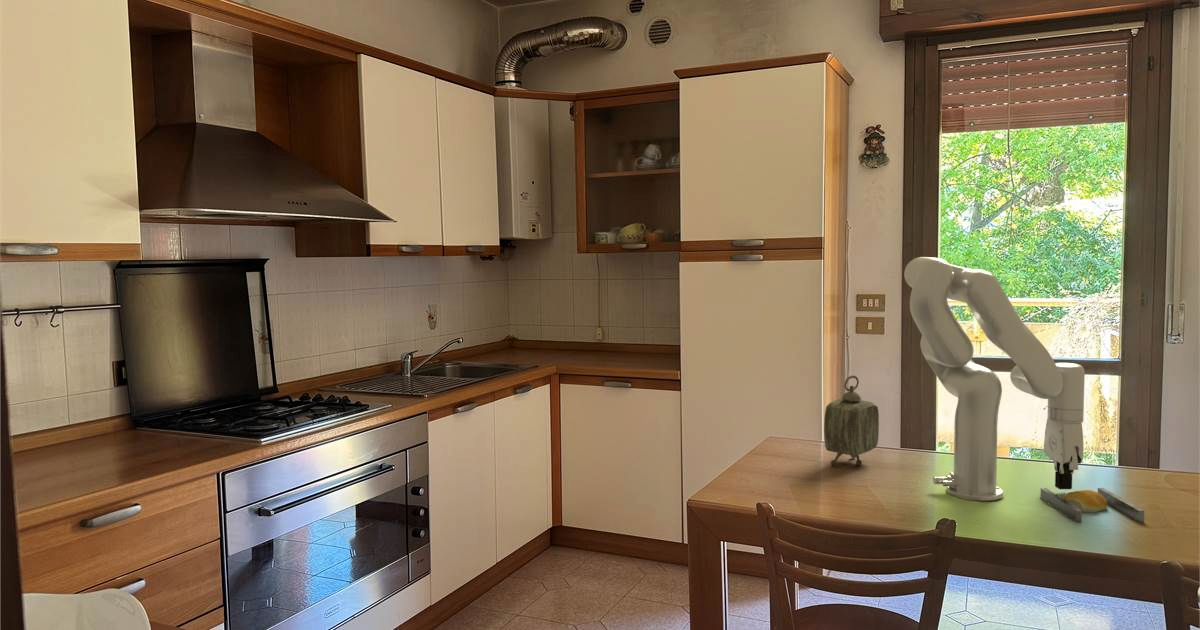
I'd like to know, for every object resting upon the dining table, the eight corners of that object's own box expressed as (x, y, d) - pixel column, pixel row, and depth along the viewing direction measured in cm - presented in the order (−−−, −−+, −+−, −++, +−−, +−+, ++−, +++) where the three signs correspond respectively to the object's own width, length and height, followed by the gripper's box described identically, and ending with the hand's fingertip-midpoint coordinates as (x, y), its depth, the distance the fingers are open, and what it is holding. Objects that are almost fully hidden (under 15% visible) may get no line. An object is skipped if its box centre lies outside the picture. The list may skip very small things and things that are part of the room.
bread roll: (1113, 508, 184) (1114, 492, 184) (1090, 515, 180) (1090, 498, 180) (1078, 498, 191) (1078, 482, 191) (1054, 505, 187) (1055, 488, 187)
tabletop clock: (851, 456, 232) (851, 370, 230) (880, 461, 225) (881, 374, 223) (824, 466, 222) (824, 377, 220) (853, 473, 216) (854, 381, 213)
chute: (1075, 521, 176) (1076, 510, 176) (1040, 498, 192) (1040, 488, 191) (1143, 521, 175) (1144, 510, 175) (1102, 498, 191) (1103, 487, 191)
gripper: (1034, 407, 201) (1032, 479, 203) (1065, 421, 186) (1063, 498, 188) (1065, 407, 201) (1063, 478, 202) (1098, 421, 186) (1096, 498, 187)
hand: (1063, 488), depth 195 cm, fingers closed
